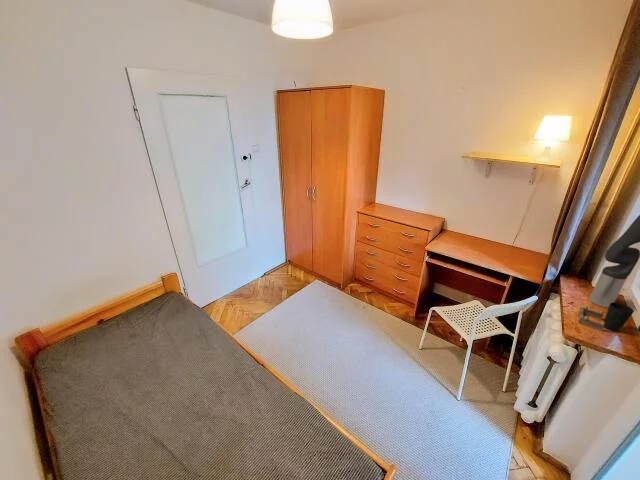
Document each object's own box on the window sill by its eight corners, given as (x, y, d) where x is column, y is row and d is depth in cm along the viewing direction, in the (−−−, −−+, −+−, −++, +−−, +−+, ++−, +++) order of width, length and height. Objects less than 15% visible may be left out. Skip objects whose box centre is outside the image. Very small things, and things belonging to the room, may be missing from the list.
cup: (598, 320, 134) (609, 300, 130) (620, 327, 130) (632, 306, 125) (600, 328, 128) (611, 307, 124) (623, 336, 124) (635, 314, 120)
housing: (578, 311, 141) (581, 304, 139) (600, 318, 135) (604, 311, 134) (578, 323, 132) (581, 315, 130) (601, 331, 127) (605, 323, 125)
